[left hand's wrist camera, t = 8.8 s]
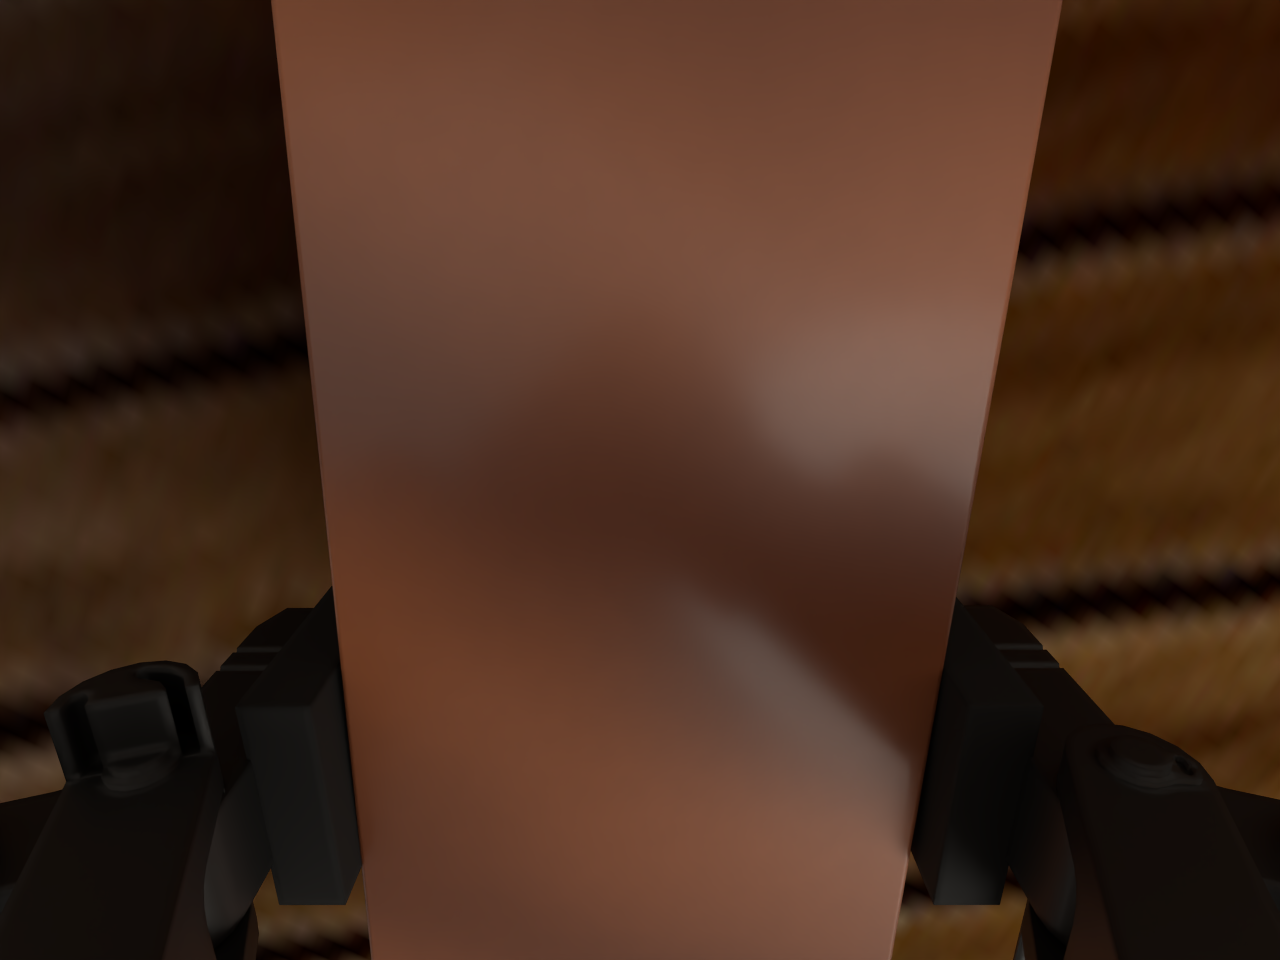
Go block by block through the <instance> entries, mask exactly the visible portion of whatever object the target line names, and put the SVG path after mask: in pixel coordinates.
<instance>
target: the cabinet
mask: <svg viewBox="0 0 1280 960" xmlns="http://www.w3.org/2000/svg"><path fill="white" fill-rule="evenodd" d="M1062 1H1063V0H271V4H272V13H273V23H274V33H275V42H276V52H277V61H278V71H279V80H280V90H281V99H282V109H283V118H284V128H285V138H286V147H287V157H288V166H289V176H290V185H291V195H292V204H293V214H294V223H295V233H296V242H297V252H298V262H299V271H300V281H301V290H302V300H303V309H304V319H305V328H306V338H307V347H308V357H309V367H310V376H311V386H312V395H313V405H314V414H315V424H316V433H317V443H318V452H319V462H320V472H321V481H322V491H323V500H324V510H325V519H326V529H327V538H328V548H329V557H330V567H331V577H332V586H333V596H334V605H335V615H336V624H337V634H338V643H339V653H340V662H341V672H342V682H343V691H344V701H345V710H346V720H347V729H348V739H349V748H350V758H351V767H352V777H353V787H354V796H355V806H356V815H357V825H358V834H359V844H360V853H361V861H362V872H363V882H364V891H365V901H366V911H367V920H368V930H369V939H370V949H371V958H372V960H891V957H892V952H893V946H894V940H895V935H896V929H897V924H898V918H899V912H900V907H901V901H902V896H903V890H904V884H905V879H906V873H907V868H908V862H909V856H910V851H911V845H912V840H913V834H914V828H915V823H916V817H917V812H918V806H919V801H920V795H921V789H922V784H923V778H924V773H925V767H926V761H927V756H928V750H929V745H930V739H931V733H932V728H933V722H934V717H935V711H936V705H937V700H938V694H939V689H940V683H941V677H942V672H943V666H944V661H945V655H946V649H947V644H948V638H949V633H950V627H951V622H952V616H953V610H954V605H955V599H956V594H957V588H958V582H959V577H960V571H961V566H962V560H963V554H964V549H965V543H966V538H967V532H968V526H969V521H970V515H971V510H972V504H973V498H974V493H975V487H976V482H977V476H978V470H979V465H980V459H981V454H982V448H983V443H984V437H985V431H986V426H987V420H988V415H989V409H990V403H991V398H992V392H993V387H994V381H995V375H996V370H997V364H998V359H999V353H1000V347H1001V342H1002V336H1003V331H1004V325H1005V319H1006V314H1007V308H1008V303H1009V297H1010V291H1011V286H1012V280H1013V275H1014V269H1015V264H1016V258H1017V252H1018V247H1019V241H1020V236H1021V230H1022V224H1023V219H1024V213H1025V208H1026V202H1027V196H1028V191H1029V185H1030V180H1031V174H1032V168H1033V163H1034V157H1035V152H1036V146H1037V140H1038V135H1039V129H1040V124H1041V118H1042V112H1043V107H1044V101H1045V96H1046V90H1047V85H1048V79H1049V73H1050V68H1051V62H1052V57H1053V51H1054V45H1055V40H1056V34H1057V29H1058V23H1059V17H1060V12H1061V6H1062Z"/></svg>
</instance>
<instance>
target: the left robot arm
mask: <svg viewBox="0 0 1280 960" xmlns="http://www.w3.org/2000/svg"><path fill="white" fill-rule="evenodd" d="M44 716H45V719H46V722H47V725H48V728H49V731H50V734H51V737H52V740H53V743H54V746H55V749H56V752H57V755H58V758H59V761H60V764H61V767H62V770H63V773H64V776H65V779H66V784H65V786H64V788H63V790H59V791H55V792H51V793H46V794H42V795H37V796H32V797H28V798H23V799H18V800H13V801H9V802H4V803H0V960H255V959H256V951H257V944H258V936H259V931H258V923H257V916H256V912H255V908H254V904H253V899H254V897H255V895H256V894H257V892H258V890H259V888H260V886H261V885H262V883H263V881H264V879H265V877H266V876H267V874H268V872H269V870H270V868H271V870H272V874H273V879H274V883H275V888H276V892H277V897H278V901H279V905H346V902H347V900H348V897H349V895H350V893H351V890H352V888H353V886H354V883H355V881H356V878H357V876H358V874H359V871H360V869H361V866H362V861H361V853H360V844H359V834H358V825H357V815H356V806H355V796H354V787H353V777H352V767H351V758H350V748H349V739H348V729H347V720H346V710H345V701H344V691H343V682H342V672H341V662H340V653H339V643H338V634H337V624H336V615H335V605H334V596H333V586H331V588H330V589H329V590H328V591H327V593H326V594H325V595H324V596H323V598H322V599H321V600H320V601H319V602H318V604H317V605H316V606H315V607H314V608H287V609H285V610H283V611H282V612H280V613H278V614H277V615H275V616H273V617H272V618H270V619H268V620H267V621H265V622H263V623H262V624H260V625H258V626H257V627H256V628H255V629H254V630H253V631H252V632H251V633H250V634H249V636H248V637H247V638H246V639H245V640H244V641H243V642H242V643H241V644H240V646H239V647H238V648H237V652H236V653H232V654H231V655H230V657H229V658H228V659H227V660H226V661H225V662H224V663H223V664H222V665H221V669H220V671H216V672H215V673H214V674H213V675H212V676H211V678H210V679H209V680H208V681H207V682H206V683H205V684H204V685H203V686H202V688H201V684H200V680H199V676H198V672H196V671H195V670H194V669H192V668H191V667H190V666H188V665H187V664H183V663H178V662H172V661H155V662H142V663H137V664H133V665H129V666H125V667H121V668H117V669H113V670H110V671H107V672H105V673H103V674H100V675H98V676H95V677H93V678H91V679H88V680H86V681H83V682H82V683H80V684H78V685H77V686H75V687H74V688H72V689H71V690H69V691H67V692H66V693H64V694H63V695H61V696H59V697H58V698H57V699H56V701H55V702H54V703H53V704H52V705H51V706H50V707H49V708H48V709H47V710H46V711H45V712H44ZM911 852H912V854H913V856H914V859H915V861H916V864H917V866H918V868H919V871H920V873H921V876H922V878H923V880H924V883H925V885H926V888H927V890H928V892H929V895H930V897H931V899H932V902H933V904H934V905H1000V901H1001V897H1002V893H1003V888H1004V884H1005V879H1006V875H1007V870H1008V866H1010V868H1011V870H1012V871H1013V873H1014V875H1015V877H1016V879H1017V880H1018V882H1019V884H1020V886H1021V888H1022V889H1023V891H1024V893H1025V895H1026V897H1027V898H1028V900H1027V904H1026V908H1025V912H1024V916H1023V920H1022V925H1021V929H1020V933H1019V937H1018V941H1017V945H1016V949H1015V954H1014V958H1013V960H1280V800H1278V799H1274V798H1269V797H1264V796H1259V795H1255V794H1250V793H1245V792H1240V791H1236V790H1231V789H1226V788H1222V787H1219V786H1216V784H1215V782H1214V780H1213V779H1212V778H1211V777H1210V775H1209V774H1208V773H1207V772H1206V770H1205V769H1204V768H1203V766H1202V765H1201V764H1200V763H1199V762H1198V761H1196V760H1195V759H1194V758H1192V757H1191V756H1190V755H1188V754H1187V753H1186V752H1184V751H1183V750H1181V749H1180V748H1179V747H1177V746H1175V745H1173V744H1171V743H1169V742H1167V741H1165V740H1163V739H1161V738H1159V737H1157V736H1155V735H1152V734H1150V733H1147V732H1143V731H1140V730H1136V729H1133V728H1129V727H1126V726H1122V725H1115V724H1114V723H1113V722H1112V721H1111V720H1110V719H1109V718H1108V717H1107V716H1106V715H1105V714H1104V712H1103V711H1102V710H1101V709H1100V708H1099V707H1098V706H1097V705H1096V704H1095V703H1094V701H1093V700H1092V699H1091V698H1090V697H1089V696H1088V695H1087V694H1086V693H1085V692H1084V690H1083V689H1082V688H1081V687H1080V686H1079V685H1078V684H1077V683H1076V682H1075V681H1074V679H1073V678H1072V677H1071V676H1070V675H1069V674H1068V673H1067V672H1066V671H1065V670H1064V668H1059V663H1058V662H1057V661H1056V660H1055V659H1054V657H1053V656H1052V655H1051V654H1050V653H1049V652H1048V651H1047V650H1043V645H1042V644H1041V643H1040V642H1039V641H1038V640H1037V639H1036V638H1035V637H1034V636H1033V634H1032V633H1031V632H1030V631H1029V630H1028V629H1027V628H1026V627H1025V626H1024V625H1023V624H1022V623H1021V622H1019V621H1017V620H1015V619H1014V618H1012V617H1010V616H1009V615H1007V614H1005V613H1004V612H1002V611H1000V610H999V609H997V608H995V607H994V606H963V605H962V604H961V602H960V601H959V600H958V599H957V597H956V599H955V605H954V610H953V616H952V622H951V627H950V633H949V638H948V644H947V649H946V655H945V661H944V666H943V672H942V677H941V683H940V689H939V694H938V700H937V705H936V711H935V717H934V722H933V728H932V733H931V739H930V745H929V750H928V756H927V761H926V767H925V773H924V778H923V784H922V789H921V795H920V801H919V806H918V812H917V817H916V823H915V828H914V834H913V840H912V845H911Z"/></svg>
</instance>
